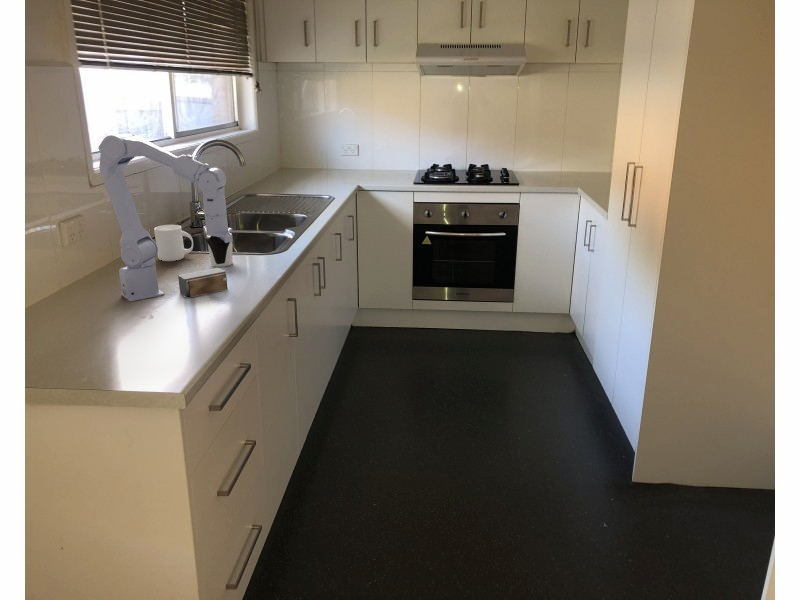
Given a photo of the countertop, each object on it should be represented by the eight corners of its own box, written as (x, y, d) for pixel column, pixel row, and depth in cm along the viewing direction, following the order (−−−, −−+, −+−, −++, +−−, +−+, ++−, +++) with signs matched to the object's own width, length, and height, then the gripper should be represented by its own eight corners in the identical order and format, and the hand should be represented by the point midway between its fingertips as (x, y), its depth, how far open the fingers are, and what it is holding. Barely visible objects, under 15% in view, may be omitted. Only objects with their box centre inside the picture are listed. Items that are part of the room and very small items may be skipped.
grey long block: (186, 297, 177) (184, 279, 175) (180, 293, 181) (177, 275, 179) (227, 289, 184) (225, 271, 183) (220, 285, 188) (218, 267, 186)
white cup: (239, 263, 211) (236, 233, 207) (221, 268, 204) (218, 238, 201) (222, 259, 215) (219, 230, 211) (204, 265, 208) (201, 235, 205)
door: (188, 298, 176) (186, 282, 174) (186, 297, 177) (184, 280, 175) (229, 289, 183) (227, 274, 181) (226, 288, 184) (224, 272, 182)
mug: (192, 261, 213) (188, 229, 210) (155, 262, 212) (151, 230, 209) (197, 254, 221) (193, 224, 218) (161, 255, 220) (157, 225, 217)
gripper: (241, 216, 167) (245, 266, 171) (218, 208, 178) (223, 255, 182) (216, 220, 163) (221, 271, 167) (194, 211, 173) (199, 259, 178)
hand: (220, 263), depth 174 cm, fingers closed
